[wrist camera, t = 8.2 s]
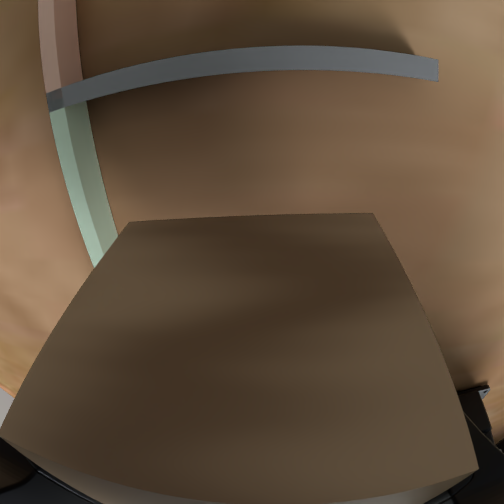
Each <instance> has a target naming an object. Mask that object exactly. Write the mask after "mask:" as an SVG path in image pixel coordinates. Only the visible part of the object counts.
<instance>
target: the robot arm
mask: <svg viewBox="0 0 504 504" xmlns="http://www.w3.org/2000/svg"><path fill="white" fill-rule="evenodd" d="M489 391H490V387H489V385H485V386H482V387H478V388H474V389H471V390H467V391H463V392H459V393H457V395H458V398H459V401H460V404H461V407H462V410H463V413H464V416H465V420H466V423H467V426H468V429H469V433H470V436H471V440H472V444H473V447H474V451H475V455H476V459H477V463H478V467H479V469H478V470H477V471H475V472H474V473H472V474H471V475H469V476H468V477H467V478H465V479H464V480H462V481H460V482H459V483H457V484H456V485H454V486H453V487H451V488H449V489H448V490H446V491H444V492H443V493H441V494H439V495H438V496H436V497H434V498H432V499H431V500H429V501H427V502H425V503H423V504H504V439H503V440H501V441H499V443H498V444H496V445H495V442H494V439H493V435H492V432H491V429H492V428H491V424H490V421H489V418H488V415H487V412H486V409H485V407H484V404H483V401H482V399H483V398H484V397H485V396H486V394H487V393H488V392H489ZM0 504H103V503H101V502H99V501H97V500H95V499H93V498H91V497H89V496H87V495H86V494H84V493H82V492H80V491H78V490H77V489H75V488H73V487H71V486H70V485H68V484H66V483H65V482H63V481H61V480H60V479H58V478H57V477H55V476H53V475H52V474H50V473H49V472H47V471H46V470H44V469H43V468H41V467H40V466H38V465H37V464H35V463H34V462H33V461H31V460H30V459H28V458H27V457H26V456H24V455H23V454H22V453H20V452H19V451H18V450H16V449H15V448H14V447H12V446H11V445H10V444H9V443H7V442H6V441H5V440H4V439H2V438H1V437H0Z"/></svg>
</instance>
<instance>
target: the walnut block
mask: <svg viewBox="0 0 504 504" xmlns="http://www.w3.org/2000/svg"><path fill="white" fill-rule="evenodd" d="M0 437H1V438H2V439H4V440H5V441H6V442H7V443H9V444H10V445H11V446H12V447H14V448H15V449H16V450H18V451H19V452H20V453H22V454H23V455H24V456H26V457H27V458H28V459H30V460H31V461H33V462H34V463H35V464H37V465H38V466H40V467H41V468H43V469H44V470H46V471H47V472H49V473H50V474H52V475H53V476H55V477H57V478H58V479H60V480H61V481H63V482H65V483H66V484H68V485H70V486H71V487H73V488H75V489H77V490H78V491H80V492H82V493H84V494H86V495H87V496H89V497H91V498H93V499H95V500H97V501H99V502H101V503H103V504H423V503H425V502H427V501H429V500H431V499H432V498H434V497H436V496H438V495H439V494H441V493H443V492H444V491H446V490H448V489H449V488H451V487H453V486H454V485H456V484H457V483H459V482H460V481H462V480H464V479H465V478H467V477H468V476H469V475H471V474H472V473H474V472H475V471H477V470H478V469H479V467H478V463H477V459H476V455H475V451H474V447H473V444H472V440H471V436H470V433H469V429H468V426H467V423H466V420H465V416H464V413H463V410H462V407H461V404H460V401H459V398H458V395H457V392H456V389H455V386H454V384H453V381H452V378H451V375H450V373H449V370H448V368H447V365H446V362H445V360H444V357H443V355H442V352H441V350H440V347H439V345H438V342H437V340H436V338H435V335H434V333H433V331H432V328H431V326H430V324H429V321H428V319H427V317H426V315H425V313H424V310H423V308H422V306H421V304H420V302H419V300H418V297H417V295H416V293H415V291H414V289H413V287H412V285H411V283H410V281H409V279H408V277H407V275H406V273H405V271H404V269H403V267H402V265H401V263H400V261H399V259H398V258H397V256H396V254H395V252H394V250H393V248H392V246H391V244H390V243H389V241H388V239H387V237H386V235H385V234H384V232H383V230H382V228H381V227H380V225H379V223H378V221H377V220H376V218H375V216H374V214H373V213H344V214H289V215H255V216H229V217H207V218H187V219H169V220H152V221H137V222H129V223H128V224H127V226H126V227H125V228H124V229H123V231H122V232H121V233H120V235H119V236H118V237H117V238H116V240H115V241H114V242H113V244H112V245H111V246H110V248H109V249H108V250H107V252H106V253H105V254H104V256H103V257H102V258H101V260H100V261H99V262H98V264H97V265H96V267H95V268H94V269H93V271H92V272H91V274H90V275H89V276H88V278H87V279H86V281H85V282H84V284H83V285H82V286H81V288H80V289H79V291H78V292H77V294H76V295H75V297H74V298H73V300H72V301H71V303H70V304H69V306H68V307H67V309H66V310H65V312H64V313H63V315H62V317H61V318H60V320H59V321H58V323H57V325H56V326H55V328H54V329H53V331H52V333H51V334H50V336H49V337H48V339H47V341H46V342H45V344H44V346H43V348H42V349H41V351H40V353H39V354H38V356H37V358H36V360H35V361H34V363H33V365H32V367H31V368H30V370H29V372H28V374H27V376H26V378H25V379H24V381H23V383H22V385H21V387H20V389H19V391H18V393H17V395H16V397H15V399H14V401H13V403H12V405H11V407H10V409H9V411H8V413H7V415H6V417H5V419H4V421H3V424H2V426H1V428H0Z"/></svg>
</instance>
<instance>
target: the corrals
mask: <svg viewBox="0 0 504 504" xmlns="http://www.w3.org/2000/svg"><path fill="white" fill-rule="evenodd" d="M38 20H39V37H40V50H41V60H42V68H43V76H44V84H45V90H46V97H47V103H48V108H49V114H50V119H51V124H52V129H53V134H54V138H55V143H56V147H57V152H58V156H59V160H60V164H61V168H62V171H63V175H64V179H65V182H66V186H67V189H68V193H69V196H70V200H71V203H72V206H73V209H74V213H75V216H76V219H77V222H78V225H79V228H80V231H81V234H82V236H83V239H84V242H85V245H86V248H87V250H88V253H89V256H90V258H91V261H92V264H93V266H94V268H95V267H96V265H97V264H98V262H99V261H100V260H101V258H102V257H103V256H104V254H105V253H106V252H107V250H108V249H109V248H110V246H111V245H112V244H113V242H114V241H115V240H116V238H117V237H118V234H117V231H116V227H115V224H114V220H113V217H112V214H111V210H110V206H109V203H108V199H107V195H106V191H105V188H104V184H103V180H102V176H101V171H100V167H99V163H98V159H97V154H96V150H95V145H94V140H93V135H92V130H91V125H90V120H89V114H88V109H87V103H86V101H87V100H91V99H94V98H98V97H101V96H105V95H109V94H113V93H117V92H121V91H125V90H129V89H134V88H138V87H143V86H148V85H153V84H158V83H164V82H169V81H175V80H181V79H188V78H195V77H202V76H210V75H219V74H229V73H240V72H254V71H273V70H335V71H354V72H368V73H379V74H388V75H397V76H404V77H411V78H418V79H424V80H430V81H436V82H438V60H437V59H432V58H427V57H422V56H416V55H410V54H404V53H397V52H390V51H382V50H373V49H363V48H351V47H335V46H266V47H249V48H237V49H227V50H218V51H210V52H202V53H195V54H189V55H183V56H177V57H172V58H166V59H161V60H156V61H152V62H147V63H143V64H138V65H134V66H130V67H126V68H122V69H118V70H115V71H111V72H108V73H104V74H101V75H97V76H94V77H91V78H88V79H85V80H83V76H82V68H81V60H80V51H79V41H78V29H77V14H76V0H38Z"/></svg>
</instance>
